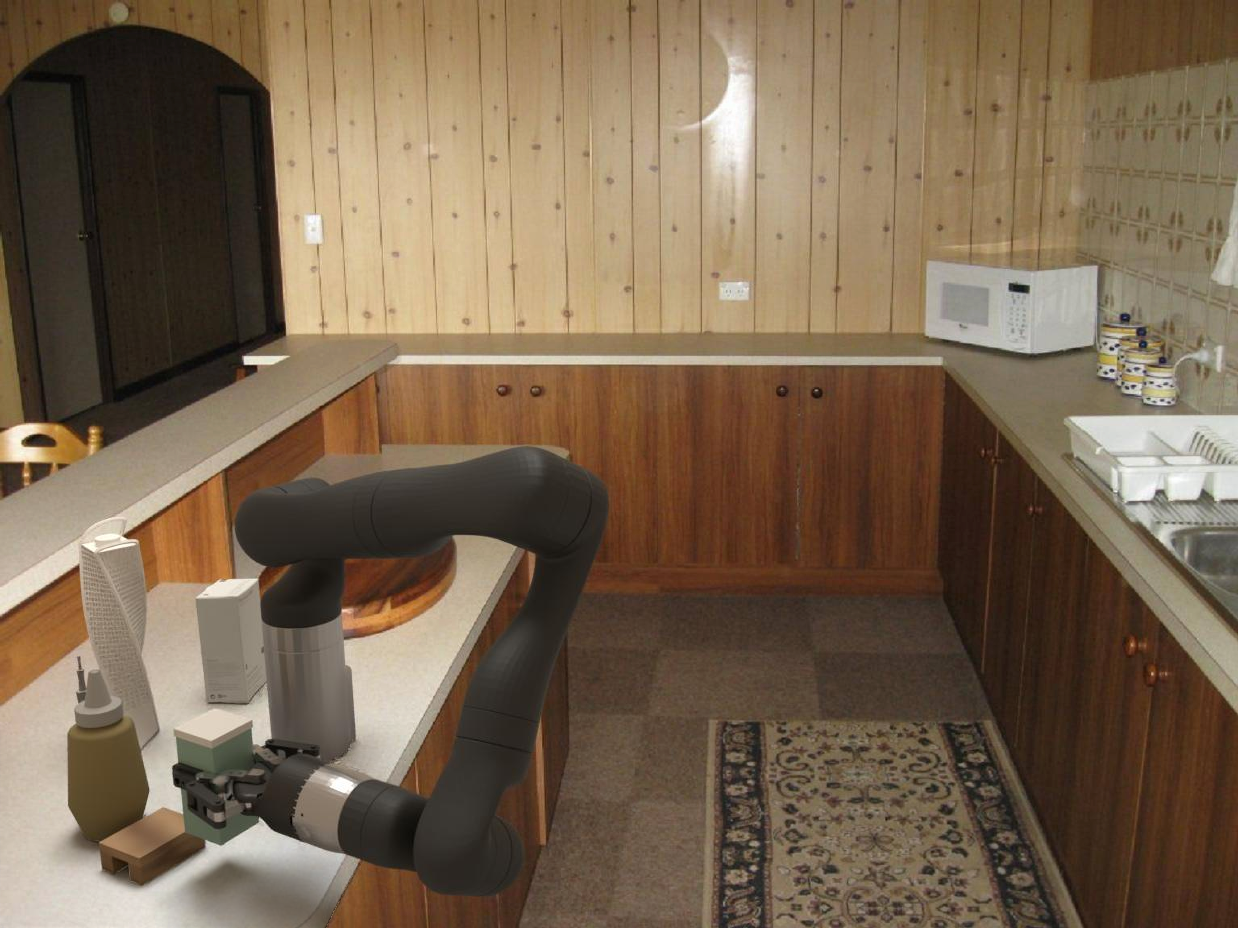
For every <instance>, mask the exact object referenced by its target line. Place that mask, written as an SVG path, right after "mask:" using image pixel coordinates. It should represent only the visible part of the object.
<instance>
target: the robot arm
mask: <svg viewBox="0 0 1238 928" xmlns="http://www.w3.org/2000/svg"><path fill="white" fill-rule="evenodd" d="M609 497H610V496H609V492H608V489H607V486H606V484H605V483H604V481H603V479H601V478H600V477H599V476H598V475H597V474H596V473H594V472H592V471H591V470H589V469H587V468H585V467H583V466H581V465H579V464H577V463H575V462H572V461H570V460H569V459H566V458H564V457H562V456H560V455H558V454H556V453H554V452H552V451H550V450H547V449H543V448H541V447H538V446H537V447H536V446H530V445H526V446H524V445H523V446H516V447H511V448H507V449H503V450H499V451H495V452H492V453H489V454H486V455H482V456H478V457H475V458H471V459H468V460H465V461H461V462H456V463H449V464H436V465H431V466H423V467H410V468H409V467H408V468H400V469H392V470H383V471H377V472H373V473H369V474H368V473H367V474H364V475H360V476H356V477H352V478H349V479H346V480H342V481H339V482H336V483H333V484H330V483H328V481H326V480H324V479H323V478H322V479H321V478H318V477H307V478H302V479H297V480H296V479H295V480H293V481H289V482H284V483H280V484H276V485H271V486H266V487H263V488H260V489H257V490H256V491H254V492H252V493H250V494H249V495H247V496H246V498H244V500H242V501H241V503H240V505H239V506H238V508H237V511H236V514H235V517H234V533H235V538H236V540H237V542H238V544H239V546H240V548H241V550H242V551H243V552H244V553H245V555H246V556H248V557H249V558H250V560H252V561H254V562H255V563H257V564H259V565H261V566H264V567H268V568H281V567H285V566H289V567H288V569H287V570H286V571H285V573H283V575H282V576H281V577H280V578H279V579H278V580H276V581H275V583H273V584H272V585H270V587H268V588H267V589H266V590H265V591H264V592H263V594H262V596H260V608H261V621H262V633H263V643H264V655H265V667H266V679H267V682H266V688H267V690H266V691H267V701H268V712H269V727H270V735H271V738H269V739H266V740H265V742H264V745H262V746H260V745H259V744H257V743H256V744H255V743H253V752H252V757H253V758H254V764H255V765H253V766H252V767H251V768H249V769H248V770H234V769H224V770H223V771H222V772H221V773H212V772H204V771H203V770H201V769H198V768H195V767H192V766H189V765H186V764H183V763H180V762H179V763H178V762H177V763H175V764H173V765H171V769H172V772H171V774H172V782H173V783H172V784H173V786H174V787H175V788H178V789H180V790H181V789H183V790H186V792H187V802H188V803H187V807H188V810H189V811H191V812H192V813H193V814H195V815H196V816H198V817H199V818H200V819H202V820H203V821H205V822H206V823H207V824H209V825H210V826H212V827H213V828H214V829H222V828H225V827H226V826H227V820H226V819H227V818H229V817H231V816H234V815H236V814H238V813H240V814H242V815H245V816H258V817H259V819H261V820H262V821H263V822H264V823H265V824H266V825H267V827H268V828H269V829H270V830H271V831H273V832H275V833H277V834H280V835H283V836H285V837H287V838H288V837H289V838H290V839H293V840H296V841H299V842H301V843H304V844H306V845H310V846H312V847H315V848H318V849H321V850H323V851H326V852H331V853H335V854H340V855H345V856H350V857H353V858H354V859H357V860H360V861H363V862H365V863H368V864H371V865H375V866H377V867H381V868H386V869H389V870H399V871H400V870H402V871H409V872H413V873H414V872H415V873H416V874H417V877H418V878H419V880H420V882H421V883H422V884H423V886H425V887H426V888H427V889H428V890H430V891H432V892H434V893H437V894H439V895H444V896H445V895H446V896H460V897H478V898H483V897H491V896H495V895H496V896H497V894H500V893H502V892H504V891H506V890H508V888H510V887H511V886H512V885H514V883H515V882H516V880H518V878H519V876H521V872H522V871H523V867H524V863H525V859H526V857H525V856H526V855H525V847H524V843H523V840H522V837H521V836H520V833H519V832H518V830H517V829H516V828H515V826H514V825H513V824H512V823H511V822H510V821H508V820H507V819H505V818H504V817H501V816H500V815H497V814H496V813H497V811H498V808H499V805H500V803H501V800H502V798H503V796H504V793H505V792H506V791H507V790H509V789H510V788H513V787H517V786H519V785H521V784H522V783H523V782H524V781H525V779H526V777H527V776H528V772H529V770H530V768H531V767H530V766H531V763H532V759H533V753H534V749H535V745H536V741H537V736H538V731H539V729H540V728H539V727H540V722H541V718H542V715H543V714H542V712H543V709H544V704H545V700H546V696H547V694H548V693H547V692H548V688H549V684H550V680H551V677H552V676H553V675H552V674H553V670H554V668H555V664H556V661H557V658H558V656H559V653H560V651H561V647H562V645H563V643H564V640H565V637H566V635H567V632H568V630H569V627H570V625H571V622H572V620H573V618H574V614H575V612H576V609H577V607H578V604H579V603H580V599H581V596H582V594H583V591H584V589H585V587H586V586H585V585H587V581H588V578H589V576H590V573H591V570H592V568H593V566H594V562H595V559H596V558H597V556H598V552H599V550H600V546H601V544H602V541H603V538H604V534H605V531H606V528H607V524H608V520H609V519H608V518H609V514H610V498H609ZM454 536H473V537H474V536H477V537H478V536H479V537H485V538H486V537H487V538H491V539H494V540H498V541H501V542H503V543H507V544H510V545H512V546H514V547H517V548H519V549H523V551H527V552H530V553H532V554H535V559H534V560H535V561H534V569H533V573H532V578H531V582H530V586H529V588H528V591H527V594H526V596H525V598H524V600H523V602H522V605H521V606H520V607H519V609H518V610H517V612H516V614H515V615H514V617H513V619H512V620H511V621H510V622H509V624H508V625H507V626H506V627H505V629H504V630H502V632H501V634H500V635H499V636H498V637H497V638H496V640H495V641H494V642H493V643H492V645H491V646H490V647H489V649H488V650H487V651H486V652H485V653H484V655H483V656H482V658H481V659H480V661H479V663H478V664H477V666H476V667H475V670H474V672H473V673H472V676H471V678H470V680H469V683H468V685H467V688H466V692H465V695H464V698H463V702H462V707H461V712H460V715H459V719H458V723H457V727H456V732H455V738H454V741H453V745H452V751H451V754H450V755H449V758H448V759H447V762H446V764H445V766H444V768H443V769H442V771H441V773H440V775H439V776H438V779H437V780H436V784H435V786H434V788H433V790H432V792H431V794H430V796H429V797H427V796H424V795H421V794H419V793H416V792H414V791H412V790H410V789H407V788H404V787H402V786H398V785H396V784H392V783H389V782H386V781H383V780H380V779H377V778H374V777H373V776H370V775H368V774H366V773H364V772H362V771H360V770H358V769H354V768H351V767H348V766H345V765H341V764H339V763H335V762H332V761H334V760H336V759H338V758H340V757H342V756H344V754H346V753H347V752H348V751H349V749H350V748H351V745H352V744H351V743H352V742H353V741H355V740H356V739H357V734H356V733H357V731H356V716H355V701H354V700H355V699H354V688H353V687H354V686H353V674H352V673H353V671H352V668H351V666H350V665H346V655H345V640H344V639H345V638H344V628H343V624H344V623H343V611H342V609H343V608H342V599H343V596H344V593H345V589H346V559H348V560H350V559H351V560H356V559H357V560H371V559H372V560H375V559H376V560H397V559H416V558H421V557H426V556H429V555H432V554H434V553H436V552H438V551H439V550H441V549H442V548H443V547H445V546H446V545H447V544H449V542H450V540H451V539H452V538H453V537H454ZM231 781H233V795H234V796H233V795H232V792H231ZM210 783H215V784H216V785H217V786H218V791H216V792H215V791H211V787H210Z"/></svg>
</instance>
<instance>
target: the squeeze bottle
mask: <svg viewBox="0 0 1238 928" xmlns="http://www.w3.org/2000/svg"><path fill="white" fill-rule="evenodd" d="M73 712H74V718H75V719H74V720H75V723H74V724H73V725H72V726H71V727H70V728H69V729H68V731H67V734H66V735H67V737H66V738H67V740H66V741H67V746H66V747H67V807H68V809H69V810H70V813H71V814H72V817H73V818H74V820H75V821H76V823H77V825H78V826H79V829H80V831H81V832H82V834H83V836H84V838H85V839H88V840H90V841H92V842H101V841H102V840H104V839H106V838H108V837H110V836H112V835H113V834H115V833H117V832H119V831H121V830H122V829H124V828H126V827H128V826H130V825H132V824H133V823H135V822H137V821H139V820H141V819H143V818H144V814H145V811H146V807H147V802H148V798H149V794H150V790H151V789H150V786H149V785H150V784H149V781H148V777H147V772H146V767H145V763H144V759H143V756H142V750H140V746H139V741H138V737H137V733H136V728H135V724H134V721H133V720H132V719H131V718H130V717H128V716H126V715H123V714H124V712H123V704H122V700H121V699H120V698H118V697H115V696H110V695H109V692H108V690H107V687H106V684H105V682H104V679H103V676H102V674H101V671H100V670H99V669H92V670H90V671H88V672H87V681H86V696H85V700H84V701H82V702H80V703H79V704H78V703H77V704H75V707H74V711H73Z"/></svg>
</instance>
